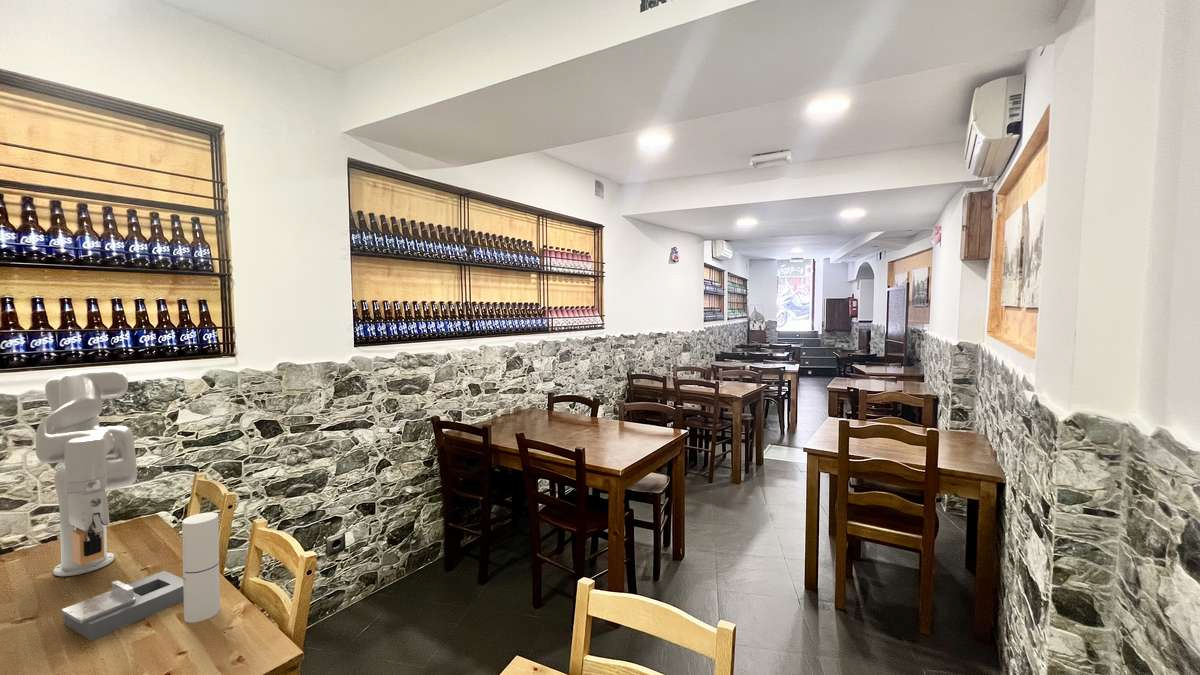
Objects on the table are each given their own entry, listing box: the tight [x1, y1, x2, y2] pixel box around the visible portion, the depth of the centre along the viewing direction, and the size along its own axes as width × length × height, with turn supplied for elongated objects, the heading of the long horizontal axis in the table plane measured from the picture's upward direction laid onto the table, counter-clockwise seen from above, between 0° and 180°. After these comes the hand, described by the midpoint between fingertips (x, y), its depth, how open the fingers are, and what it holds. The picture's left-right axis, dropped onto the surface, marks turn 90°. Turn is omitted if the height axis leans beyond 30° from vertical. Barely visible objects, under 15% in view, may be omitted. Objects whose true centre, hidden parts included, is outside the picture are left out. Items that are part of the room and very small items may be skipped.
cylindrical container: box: [181, 511, 221, 624], centre depth 125 cm, size 7×7×25 cm
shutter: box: [61, 580, 136, 624], centre depth 121 cm, size 10×10×3 cm
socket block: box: [63, 570, 184, 642], centre depth 126 cm, size 14×20×4 cm
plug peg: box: [71, 526, 104, 565], centre depth 129 cm, size 5×5×8 cm
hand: (88, 550), depth 129 cm, fingers closed on plug peg, 4 cm apart
